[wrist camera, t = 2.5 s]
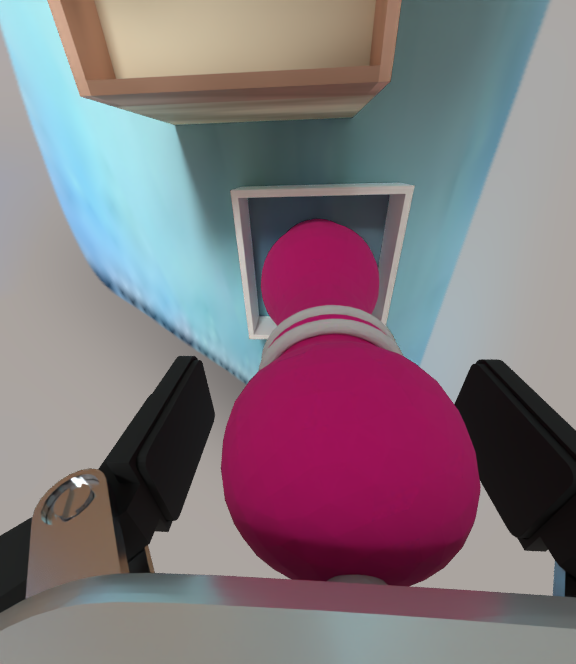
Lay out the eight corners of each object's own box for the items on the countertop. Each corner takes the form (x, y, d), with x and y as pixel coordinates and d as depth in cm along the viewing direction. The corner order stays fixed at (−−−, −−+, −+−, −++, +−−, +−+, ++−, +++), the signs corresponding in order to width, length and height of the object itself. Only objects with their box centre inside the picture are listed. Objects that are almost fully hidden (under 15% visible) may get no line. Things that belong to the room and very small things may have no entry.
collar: (240, 186, 18) (230, 190, 15) (398, 182, 17) (414, 185, 15) (255, 320, 23) (249, 339, 21) (374, 320, 23) (382, 339, 20)
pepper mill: (315, 186, 17) (654, 809, 1) (383, 259, 20) (836, 797, 3) (250, 264, 21) (8, 718, 4) (315, 319, 23) (348, 747, 6)
